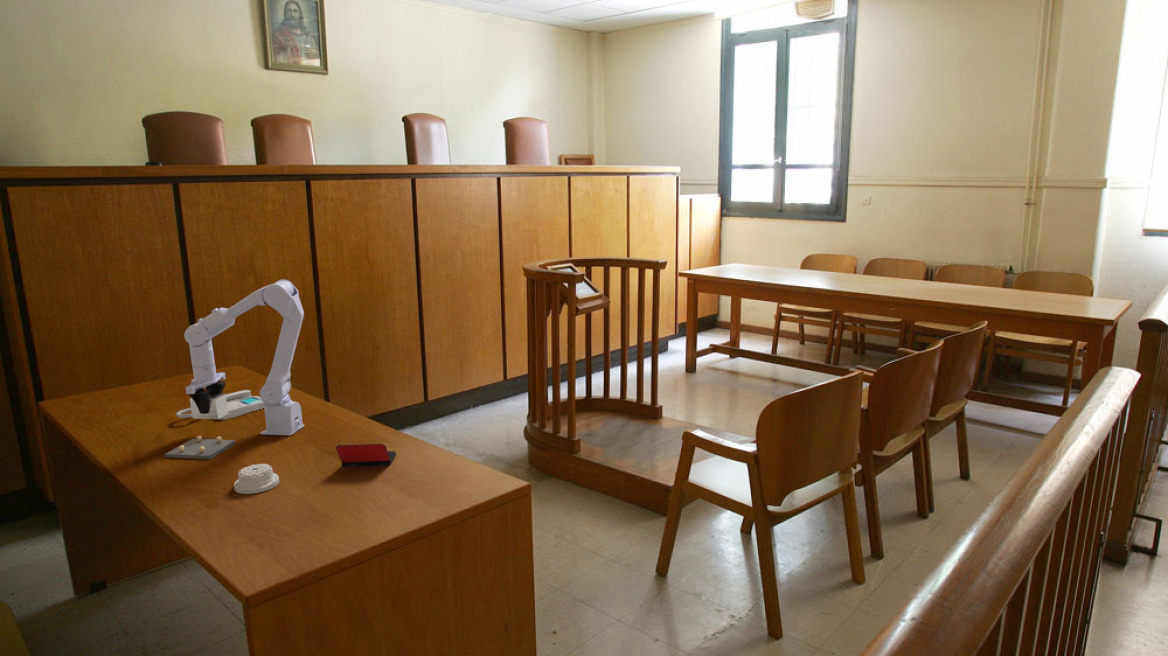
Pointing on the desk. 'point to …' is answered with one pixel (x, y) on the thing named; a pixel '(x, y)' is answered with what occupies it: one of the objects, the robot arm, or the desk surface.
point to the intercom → (235, 405)
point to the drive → (211, 407)
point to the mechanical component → (256, 479)
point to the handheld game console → (365, 455)
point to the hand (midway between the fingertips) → (210, 410)
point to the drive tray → (200, 448)
